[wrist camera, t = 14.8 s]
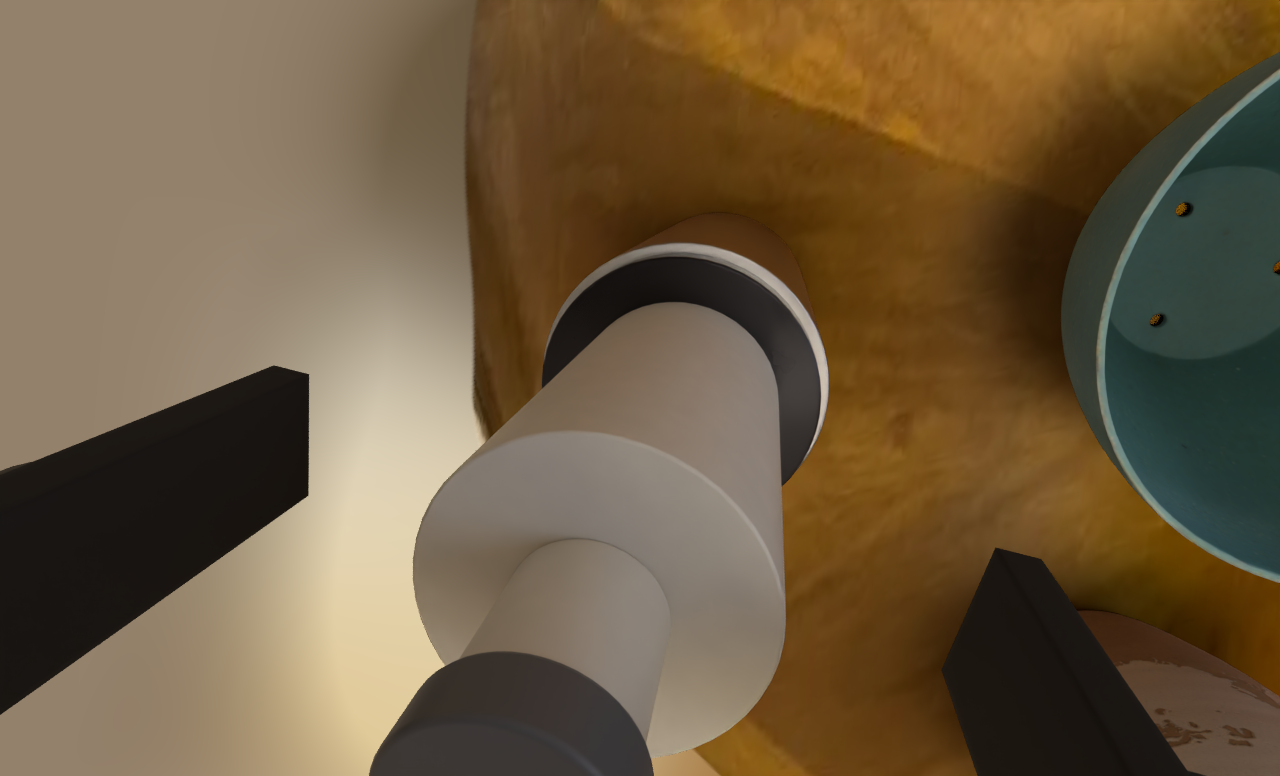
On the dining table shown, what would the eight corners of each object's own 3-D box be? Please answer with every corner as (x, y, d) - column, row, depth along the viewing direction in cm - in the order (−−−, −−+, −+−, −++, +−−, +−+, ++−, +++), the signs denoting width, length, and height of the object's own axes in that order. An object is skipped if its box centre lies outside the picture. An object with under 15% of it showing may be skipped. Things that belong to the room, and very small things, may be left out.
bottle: (540, 402, 20) (154, 788, 8) (667, 257, 18) (425, 456, 5) (683, 527, 21) (545, 1093, 8) (822, 399, 19) (935, 892, 6)
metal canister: (600, 305, 36) (477, 401, 21) (711, 174, 33) (661, 175, 18) (721, 414, 36) (687, 583, 21) (842, 295, 33) (902, 396, 18)
